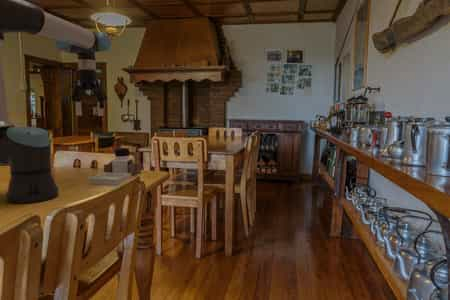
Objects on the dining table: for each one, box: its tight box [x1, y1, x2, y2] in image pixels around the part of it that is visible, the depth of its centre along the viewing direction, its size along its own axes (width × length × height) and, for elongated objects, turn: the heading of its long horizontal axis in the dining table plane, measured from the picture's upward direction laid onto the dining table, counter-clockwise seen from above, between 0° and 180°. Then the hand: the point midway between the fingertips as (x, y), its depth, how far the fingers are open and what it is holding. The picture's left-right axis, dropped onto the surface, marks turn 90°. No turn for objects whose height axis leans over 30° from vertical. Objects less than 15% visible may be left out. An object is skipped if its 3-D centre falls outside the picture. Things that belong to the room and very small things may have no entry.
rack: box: [103, 161, 142, 178], centre depth 146 cm, size 10×12×5 cm
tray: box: [88, 172, 132, 186], centre depth 133 cm, size 12×12×2 cm
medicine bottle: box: [111, 147, 134, 173], centre depth 146 cm, size 7×7×12 cm
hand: (89, 115), depth 154 cm, fingers open, 13 cm apart
